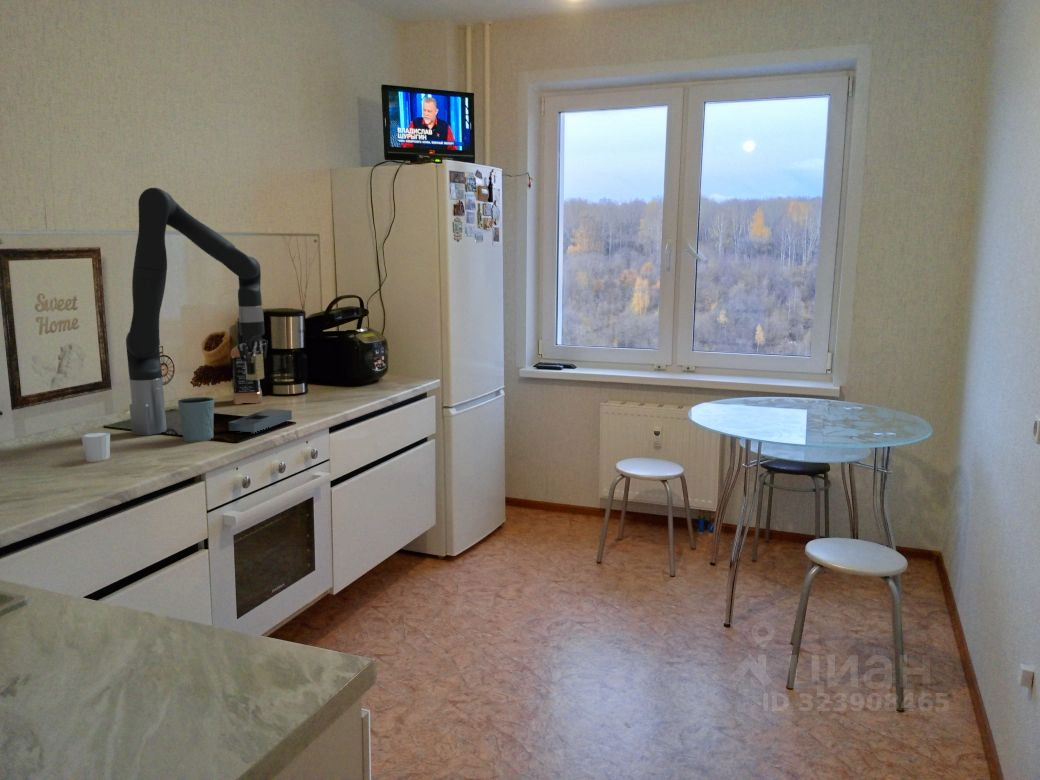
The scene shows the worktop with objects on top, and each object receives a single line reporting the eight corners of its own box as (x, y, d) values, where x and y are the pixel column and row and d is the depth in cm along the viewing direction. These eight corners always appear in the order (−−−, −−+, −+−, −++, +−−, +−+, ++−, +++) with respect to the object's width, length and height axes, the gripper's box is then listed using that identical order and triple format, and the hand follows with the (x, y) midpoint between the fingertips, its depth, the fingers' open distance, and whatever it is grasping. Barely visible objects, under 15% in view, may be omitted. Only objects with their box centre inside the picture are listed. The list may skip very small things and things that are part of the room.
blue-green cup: (175, 442, 232) (171, 402, 230) (189, 434, 242) (186, 396, 240) (208, 442, 232) (206, 403, 230) (221, 434, 242) (219, 396, 240)
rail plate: (254, 433, 243) (253, 424, 243) (229, 431, 246) (228, 422, 245) (291, 418, 264) (291, 410, 264) (268, 417, 267) (267, 408, 266)
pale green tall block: (257, 380, 248) (255, 355, 247) (246, 379, 249) (244, 354, 248) (264, 378, 252) (262, 353, 251) (253, 377, 253) (251, 353, 252)
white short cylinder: (105, 454, 218) (103, 430, 217) (116, 458, 214) (114, 434, 212) (79, 459, 213) (77, 434, 211) (90, 464, 208) (87, 438, 207)
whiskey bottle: (235, 399, 298) (229, 316, 292) (262, 398, 301) (257, 315, 295) (233, 404, 288) (227, 318, 283) (261, 403, 291) (255, 318, 285)
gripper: (248, 322, 240) (252, 377, 243) (274, 318, 253) (277, 370, 256) (227, 322, 241) (231, 376, 245) (253, 318, 255) (257, 369, 258)
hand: (255, 373), depth 250 cm, fingers closed on pale green tall block, 4 cm apart
